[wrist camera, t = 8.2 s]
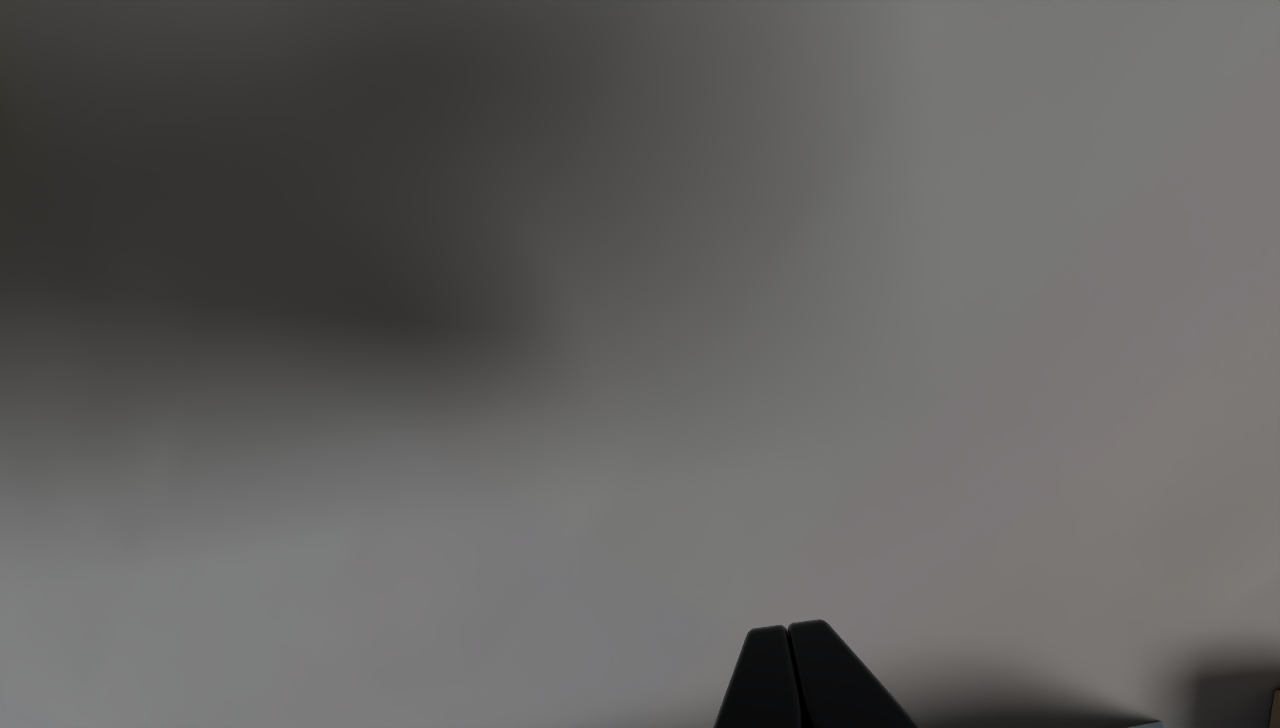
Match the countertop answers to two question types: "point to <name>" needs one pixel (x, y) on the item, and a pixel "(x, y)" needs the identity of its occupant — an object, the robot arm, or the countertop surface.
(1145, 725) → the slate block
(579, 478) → the countertop surface
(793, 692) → the robot arm
